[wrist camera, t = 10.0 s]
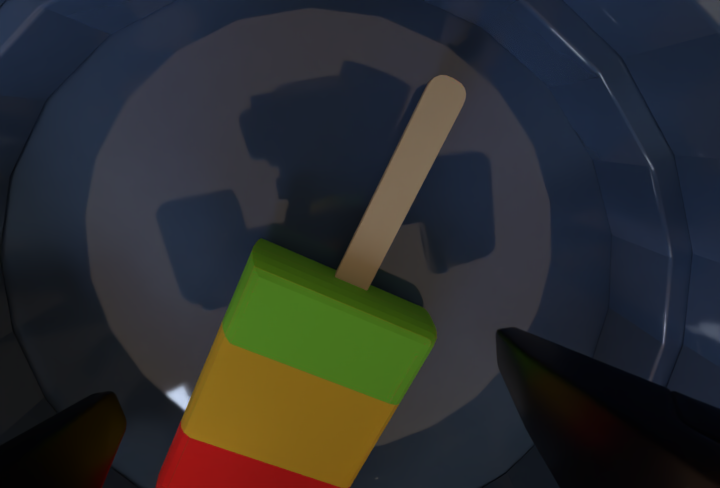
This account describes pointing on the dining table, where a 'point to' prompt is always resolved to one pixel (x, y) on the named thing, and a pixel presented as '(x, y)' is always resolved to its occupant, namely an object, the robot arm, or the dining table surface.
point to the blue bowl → (356, 200)
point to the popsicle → (314, 346)
